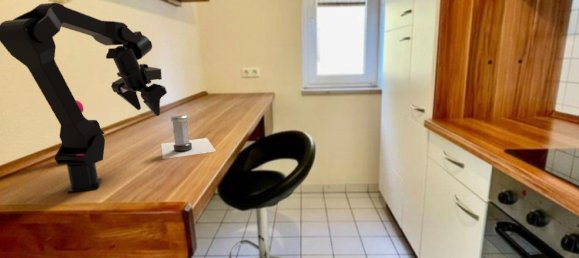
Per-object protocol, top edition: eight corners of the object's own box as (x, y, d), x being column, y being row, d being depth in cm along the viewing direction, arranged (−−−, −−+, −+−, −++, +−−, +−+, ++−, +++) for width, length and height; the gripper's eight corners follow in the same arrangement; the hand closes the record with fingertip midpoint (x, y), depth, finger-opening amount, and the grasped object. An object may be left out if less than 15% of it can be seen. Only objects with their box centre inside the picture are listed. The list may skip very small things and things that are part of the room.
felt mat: (216, 152, 106) (216, 151, 105) (162, 159, 100) (162, 158, 100) (207, 138, 124) (206, 137, 124) (161, 144, 118) (161, 143, 118)
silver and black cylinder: (186, 152, 106) (182, 118, 103) (170, 151, 107) (166, 118, 104) (195, 147, 111) (191, 115, 109) (180, 147, 112) (176, 115, 110)
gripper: (171, 59, 96) (187, 105, 105) (132, 51, 105) (150, 94, 114) (140, 76, 89) (160, 124, 98) (100, 67, 98) (122, 111, 107)
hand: (148, 112), depth 104 cm, fingers open, 9 cm apart
